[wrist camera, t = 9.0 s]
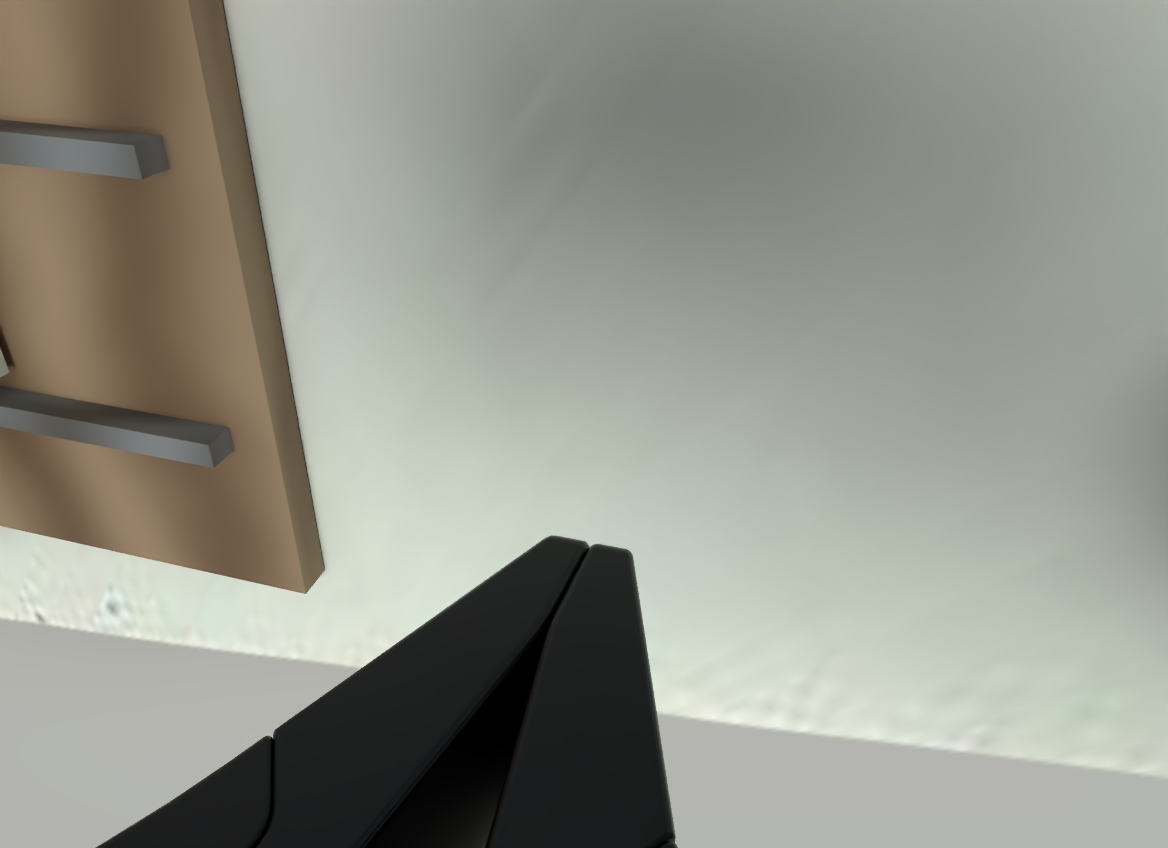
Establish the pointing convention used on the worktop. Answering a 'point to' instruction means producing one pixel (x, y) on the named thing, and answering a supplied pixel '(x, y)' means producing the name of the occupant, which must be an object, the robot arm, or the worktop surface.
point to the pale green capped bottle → (3, 365)
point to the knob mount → (141, 298)
